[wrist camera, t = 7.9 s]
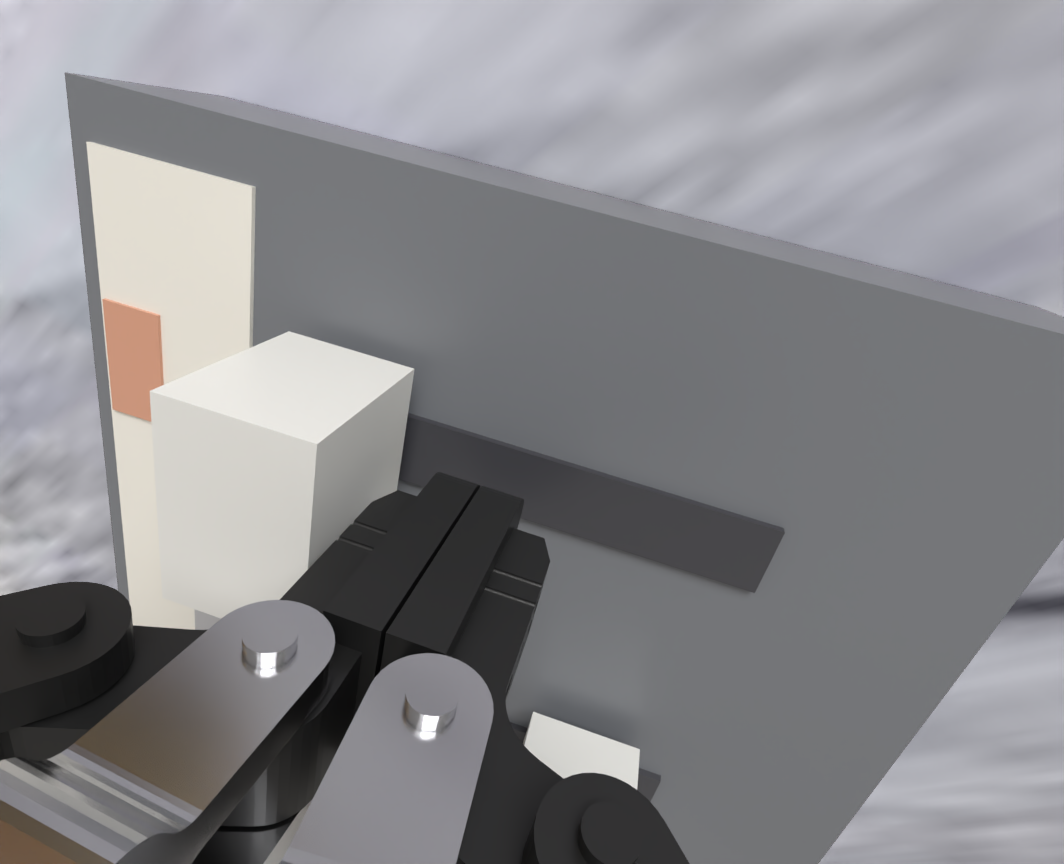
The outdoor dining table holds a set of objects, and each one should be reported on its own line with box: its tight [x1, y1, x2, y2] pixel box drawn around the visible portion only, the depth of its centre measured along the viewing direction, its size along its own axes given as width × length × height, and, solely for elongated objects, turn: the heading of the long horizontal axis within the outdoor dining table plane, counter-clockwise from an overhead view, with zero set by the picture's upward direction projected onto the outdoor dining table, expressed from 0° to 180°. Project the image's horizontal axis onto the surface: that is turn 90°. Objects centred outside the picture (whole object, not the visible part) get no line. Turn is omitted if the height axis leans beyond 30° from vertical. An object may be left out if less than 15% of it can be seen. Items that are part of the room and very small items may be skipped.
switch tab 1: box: [150, 331, 414, 618], centre depth 10 cm, size 2×4×3 cm, turn 166°
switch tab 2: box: [523, 712, 640, 789], centre depth 12 cm, size 2×4×3 cm, turn 166°
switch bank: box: [65, 73, 1064, 864], centre depth 16 cm, size 18×24×4 cm
